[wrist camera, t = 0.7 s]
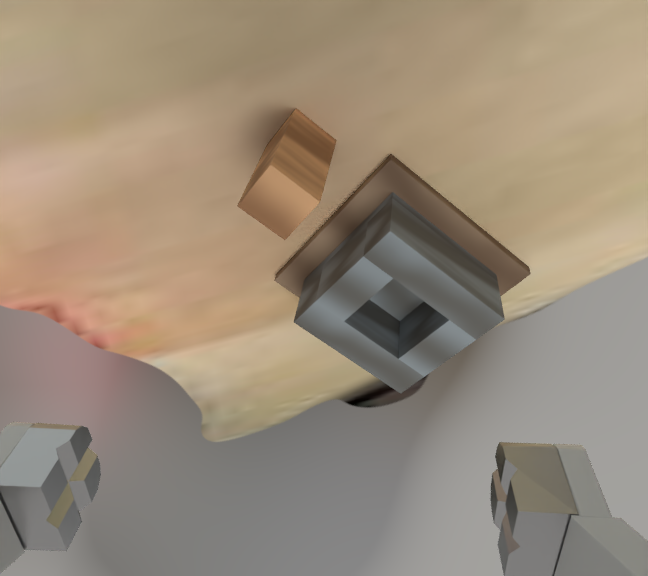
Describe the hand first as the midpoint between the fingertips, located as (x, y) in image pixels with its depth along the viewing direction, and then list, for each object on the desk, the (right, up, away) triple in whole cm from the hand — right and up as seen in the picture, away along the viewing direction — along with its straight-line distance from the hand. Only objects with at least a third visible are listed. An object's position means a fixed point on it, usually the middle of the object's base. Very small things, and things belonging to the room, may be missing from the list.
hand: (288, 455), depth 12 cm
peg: (-1, +15, +35) cm, 38 cm away
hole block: (+7, +5, +42) cm, 43 cm away
